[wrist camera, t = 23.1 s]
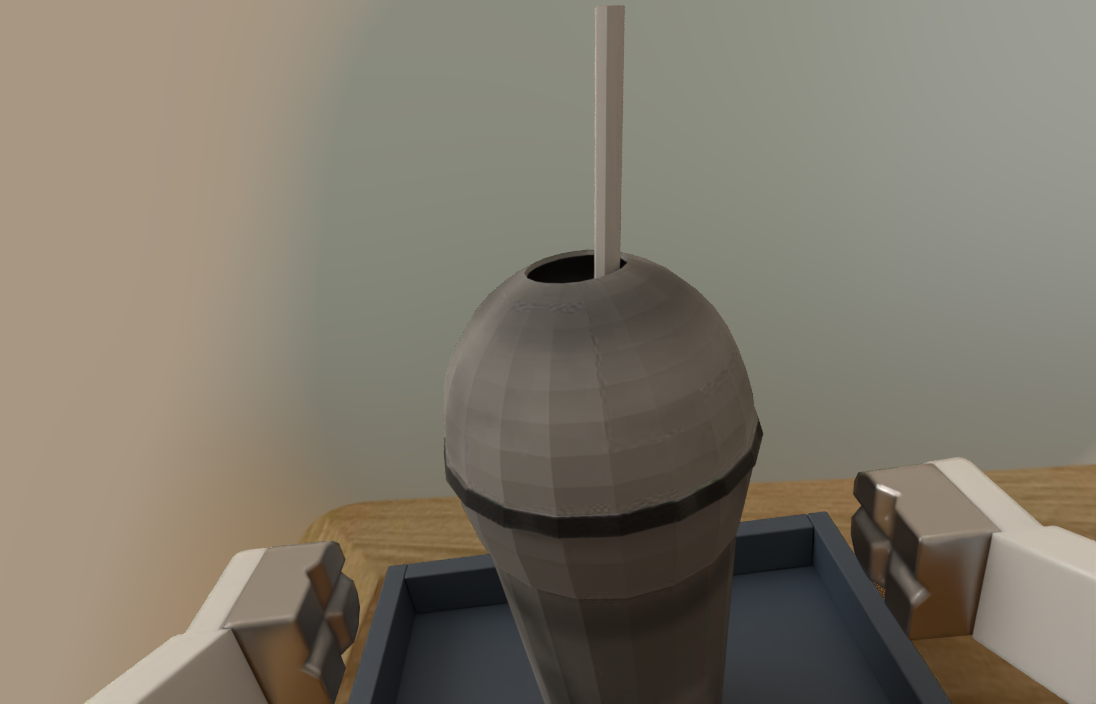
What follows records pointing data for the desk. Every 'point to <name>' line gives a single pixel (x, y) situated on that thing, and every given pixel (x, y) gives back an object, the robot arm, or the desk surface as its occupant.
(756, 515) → the desk surface
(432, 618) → the tray
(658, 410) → the beverage cup
